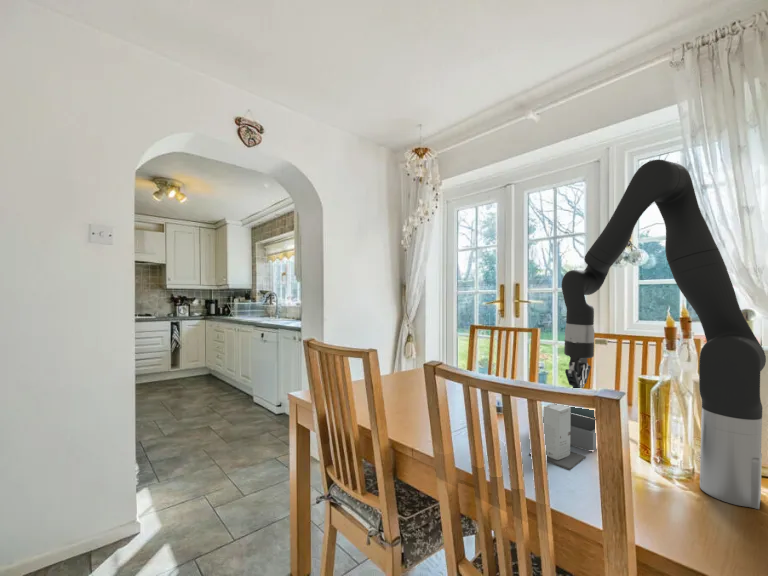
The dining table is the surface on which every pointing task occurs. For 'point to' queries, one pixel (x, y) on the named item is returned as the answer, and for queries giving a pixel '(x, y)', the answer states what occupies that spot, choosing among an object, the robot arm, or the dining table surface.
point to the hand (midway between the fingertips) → (577, 399)
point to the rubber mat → (567, 460)
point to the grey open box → (582, 432)
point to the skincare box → (557, 430)
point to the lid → (583, 412)
